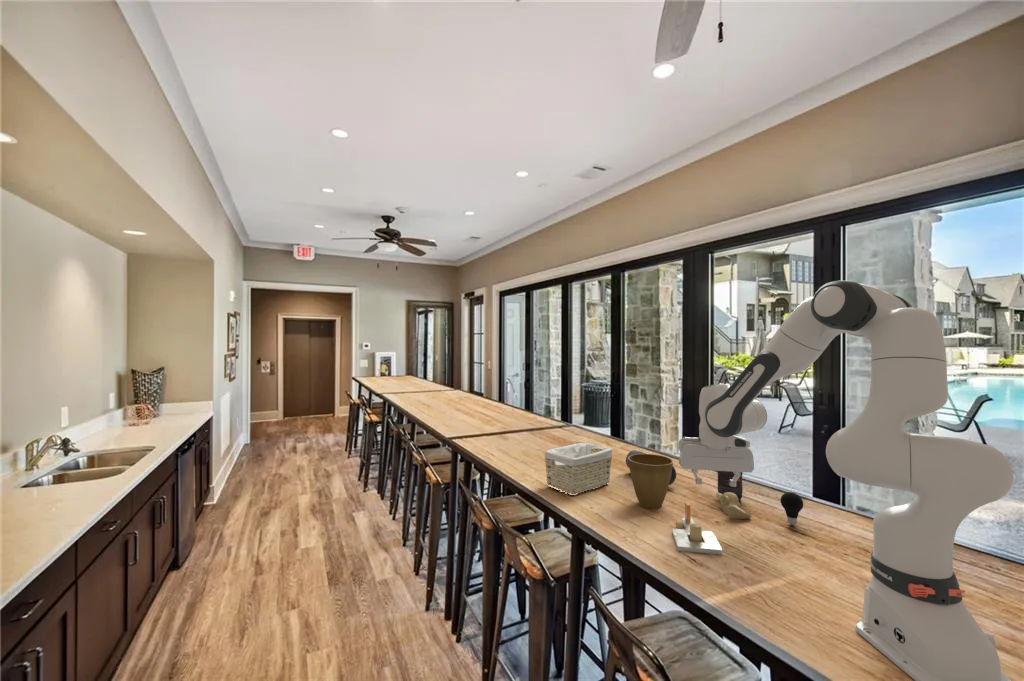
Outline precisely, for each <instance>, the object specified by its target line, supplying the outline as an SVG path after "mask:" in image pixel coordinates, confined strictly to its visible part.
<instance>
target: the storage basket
mask: <svg viewBox="0 0 1024 681" xmlns="http://www.w3.org/2000/svg"><path fill="white" fill-rule="evenodd" d="M592 452H594V453H592ZM612 458H613V448H612V447H608V446H607V447H606V446H602V445H598V444H593V443H590V442H581V443H580V442H578V443H574V444H569V445H564V446H559V447H556V448H555V447H554V448H551V449H549V450H545V452H544V463H545V471H546V483H547V484H548V485H551V486H553V487H556V488H558V489H561V490H562V491H565V492H567V493H571V494H576V493H580V494H582V493H581V492H583V493H585V492H584V491H586V492H588V491H587V490H589V491H591V490H590V489H593V488H596V487H598V488H600V487H599V486H601V487H603V486H602V485H605V486H607V485H606V484H607V483H609V484H610V476H611V466H612ZM547 484H546V485H547ZM548 485H547V486H548ZM593 490H594V489H593Z"/></svg>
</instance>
